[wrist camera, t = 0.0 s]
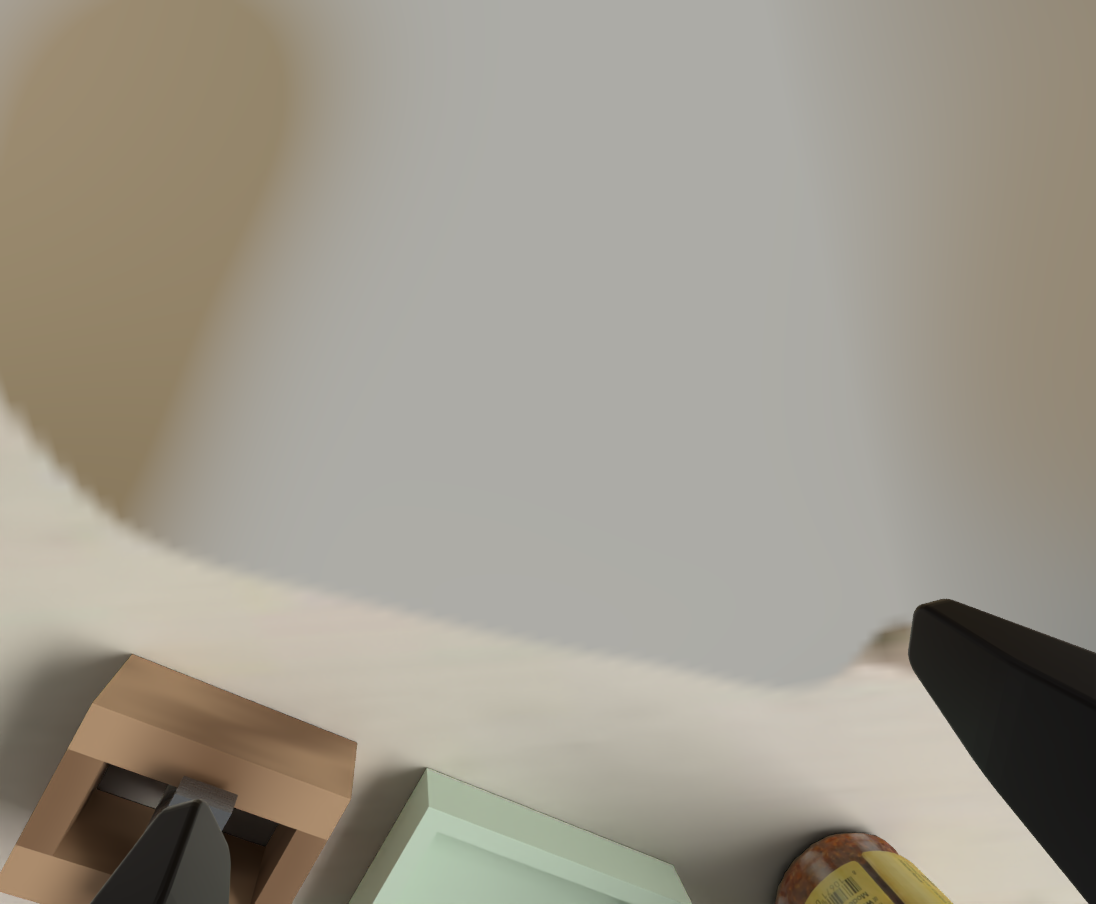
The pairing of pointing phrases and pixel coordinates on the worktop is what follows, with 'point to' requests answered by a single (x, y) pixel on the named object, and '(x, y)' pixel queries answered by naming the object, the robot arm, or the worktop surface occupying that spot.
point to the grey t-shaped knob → (194, 789)
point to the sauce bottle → (855, 875)
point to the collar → (167, 755)
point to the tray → (504, 856)
